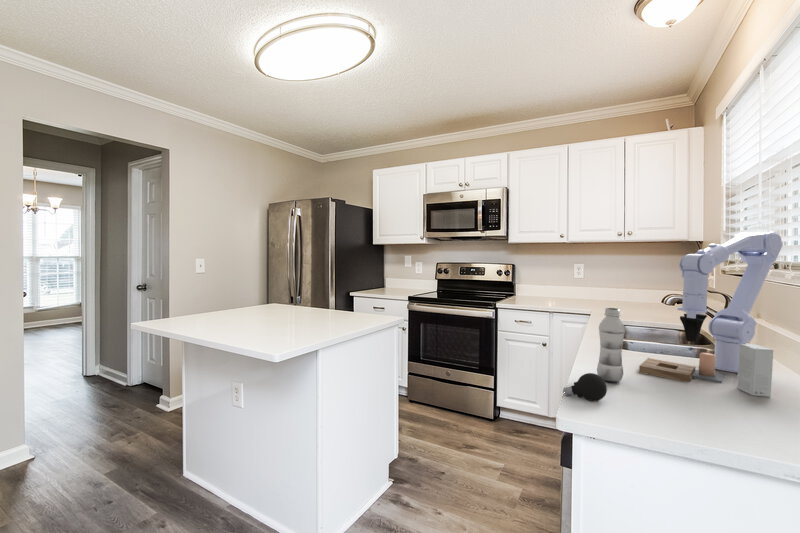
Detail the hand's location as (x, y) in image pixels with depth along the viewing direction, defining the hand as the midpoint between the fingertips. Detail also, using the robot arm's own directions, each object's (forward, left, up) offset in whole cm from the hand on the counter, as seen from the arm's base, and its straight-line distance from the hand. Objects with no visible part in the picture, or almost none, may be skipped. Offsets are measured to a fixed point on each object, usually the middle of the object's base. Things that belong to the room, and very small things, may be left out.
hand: (692, 339), depth 115 cm
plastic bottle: (+27, -15, -10) cm, 32 cm away
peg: (+2, +4, -9) cm, 10 cm away
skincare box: (+9, +14, -10) cm, 20 cm away
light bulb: (+46, -15, -10) cm, 50 cm away
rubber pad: (+2, +4, -10) cm, 11 cm away
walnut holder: (+6, -5, -10) cm, 13 cm away
